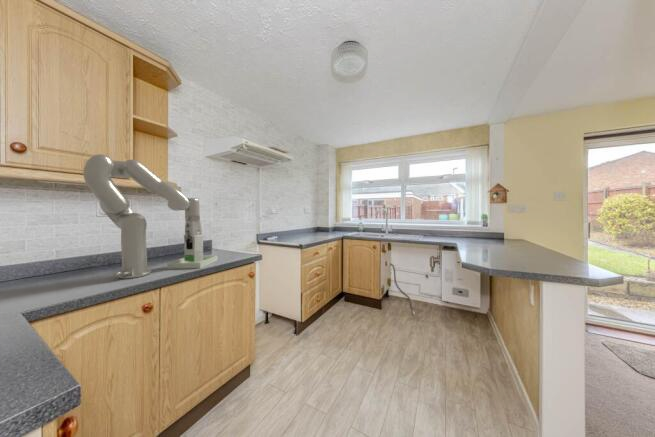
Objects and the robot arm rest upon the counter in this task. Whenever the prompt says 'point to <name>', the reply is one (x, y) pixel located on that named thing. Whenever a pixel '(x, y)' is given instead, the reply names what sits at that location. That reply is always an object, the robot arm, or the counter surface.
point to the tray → (191, 263)
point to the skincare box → (194, 250)
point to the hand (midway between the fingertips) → (193, 247)
